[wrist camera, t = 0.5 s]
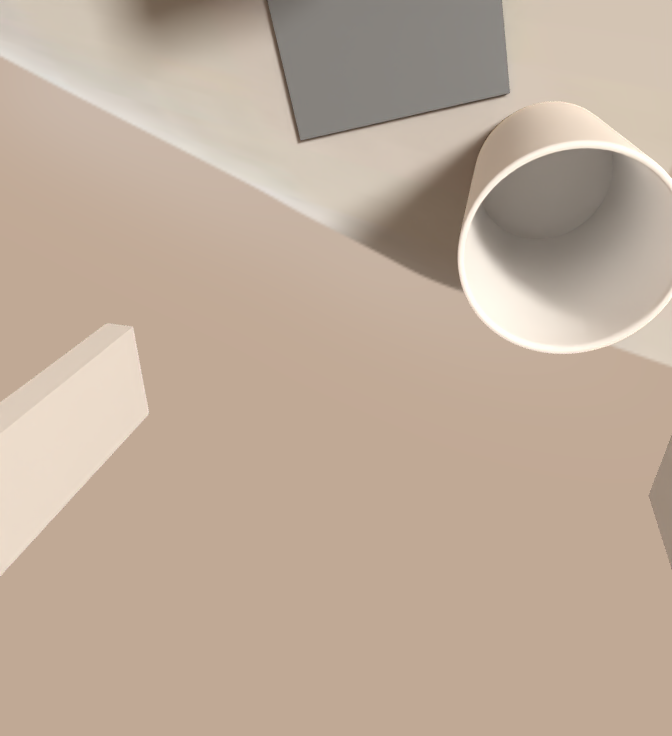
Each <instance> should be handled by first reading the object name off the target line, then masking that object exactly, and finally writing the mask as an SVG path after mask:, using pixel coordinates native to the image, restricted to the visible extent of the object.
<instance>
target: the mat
mask: <svg viewBox="0 0 672 736" xmlns="http://www.w3.org/2000/svg"><path fill="white" fill-rule="evenodd" d="M267 1H268V5H269V10H270V14H271V18H272V22H273V26H274V30H275V35H276V39H277V43H278V47H279V51H280V56H281V60H282V64H283V68H284V72H285V77H286V81H287V85H288V89H289V93H290V98H291V102H292V106H293V110H294V114H295V119H296V123H297V127H298V131H299V135H300V140H305V139H309V138H314V137H318V136H323V135H327V134H331V133H336V132H340V131H345V130H349V129H353V128H358V127H362V126H367V125H371V124H375V123H380V122H384V121H389V120H393V119H397V118H402V117H406V116H411V115H415V114H419V113H424V112H428V111H433V110H437V109H441V108H446V107H450V106H455V105H459V104H463V103H468V102H472V101H477V100H481V99H485V98H490V97H494V96H499V95H503V94H508V93H510V89H509V77H508V66H507V54H506V43H505V31H504V20H503V8H502V0H267Z"/></svg>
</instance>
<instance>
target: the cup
mask: <svg viewBox="0 0 672 736" xmlns="http://www.w3.org/2000/svg"><path fill="white" fill-rule="evenodd" d="M457 260H458V271H459V276H460V281H461V285H462V288H463V291H464V293H465V296H466V298H467V300H468V302H469V303H470V305H471V307H472V309H473V310H474V312H475V313H476V315H477V316H478V317H479V318H480V319H481V320H482V322H483V323H485V324H486V325H487V326H488V327H489V328H490V329H491V330H493V331H494V332H495V333H496V334H498V335H499V336H501V337H502V338H504V339H506V340H508V341H509V342H511V343H513V344H516V345H518V346H521V347H524V348H527V349H530V350H534V351H539V352H545V353H555V354H570V353H580V352H586V351H591V350H595V349H599V348H602V347H605V346H608V345H611V344H613V343H616V342H618V341H620V340H622V339H624V338H626V337H628V336H630V335H631V334H633V333H635V332H636V331H638V330H639V329H641V328H642V327H643V326H645V325H646V324H647V323H648V322H650V321H651V320H652V319H653V318H654V317H655V316H656V315H657V314H658V313H659V312H660V311H661V310H662V309H663V308H664V307H665V306H666V304H667V303H668V302H669V300H670V299H671V298H672V178H671V177H670V176H669V175H668V174H667V173H666V171H665V170H664V169H663V168H662V167H661V166H659V165H658V164H657V163H656V162H655V161H654V160H652V159H651V158H650V157H648V156H647V155H646V154H645V153H643V152H642V151H641V150H640V149H638V148H637V147H636V146H634V145H633V144H632V143H631V142H629V141H628V140H627V139H625V138H624V137H623V136H621V135H620V134H619V133H618V132H616V131H615V130H614V129H612V128H611V127H610V126H608V125H607V124H606V123H605V122H603V121H602V120H601V119H599V118H598V117H597V116H596V115H594V114H593V113H591V112H590V111H588V110H586V109H585V108H583V107H580V106H578V105H575V104H571V103H567V102H557V101H551V102H542V103H537V104H533V105H530V106H527V107H524V108H522V109H520V110H518V111H516V112H515V113H513V114H511V115H510V116H508V117H507V118H506V119H504V120H503V121H502V122H501V123H500V124H499V125H498V126H497V127H496V128H495V129H494V130H493V131H492V132H491V133H490V135H489V136H488V138H487V139H486V141H485V142H484V144H483V146H482V148H481V150H480V152H479V155H478V158H477V161H476V165H475V169H474V174H473V178H472V183H471V187H470V192H469V196H468V200H467V205H466V209H465V214H464V218H463V223H462V227H461V232H460V237H459V243H458V256H457Z"/></svg>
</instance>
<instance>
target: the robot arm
mask: <svg viewBox="0 0 672 736" xmlns="http://www.w3.org/2000/svg"><path fill="white" fill-rule="evenodd" d="M148 415H149V410H148V405H147V399H146V395H145V388H144V383H143V378H142V372H141V367H140V362H139V357H138V351H137V346H136V340H135V335H134V330H133V327H132V326H124V325H115V324H109V323H106V324H105V325H104V326H102V327H101V328H100V329H98V330H97V331H95V332H94V333H93V334H92V335H90V336H89V337H87V338H86V339H85V340H83V341H82V342H81V343H79V344H78V345H77V346H75V347H74V348H73V349H71V350H70V351H69V352H67V353H66V354H65V355H63V356H62V357H61V358H59V359H58V360H57V361H55V362H54V363H52V364H51V365H50V366H49V367H47V368H46V369H44V370H43V371H42V372H40V373H39V374H38V375H37V376H35V377H34V378H32V379H31V380H30V381H28V382H27V383H26V384H24V385H23V386H22V387H20V388H19V389H18V390H16V391H15V392H14V393H12V394H11V395H9V396H8V397H7V398H5V399H4V400H3V401H1V402H0V576H1V575H2V574H3V573H4V572H5V571H6V569H7V568H8V567H9V566H10V565H11V564H12V563H13V562H14V561H15V560H16V558H18V556H19V555H20V554H21V553H22V552H23V551H24V550H25V549H26V548H27V547H28V546H29V544H30V543H31V542H32V541H33V540H34V539H35V538H36V537H37V536H38V535H39V533H40V532H41V531H42V530H43V529H44V528H45V527H46V526H47V525H48V524H49V523H50V522H51V520H52V519H53V518H54V517H55V516H56V515H57V514H58V513H59V512H60V511H61V509H62V508H63V507H64V506H65V505H66V504H67V503H68V502H69V501H70V500H71V499H72V498H73V496H74V495H75V494H76V493H77V492H78V491H79V490H80V489H81V488H82V486H84V484H85V483H86V482H87V481H88V480H89V479H90V478H91V477H92V476H93V475H94V474H95V472H96V471H97V470H98V469H99V468H100V467H101V466H102V465H103V464H104V463H105V462H106V460H107V459H108V458H109V457H110V456H111V455H112V454H113V453H114V452H115V451H116V450H117V448H118V447H119V446H120V445H121V444H122V443H123V442H124V441H125V440H126V439H127V438H128V436H129V435H130V434H131V433H132V432H133V431H134V430H135V429H136V428H137V427H138V426H139V424H140V423H141V422H142V421H143V420H144V419H145V418H146V417H147V416H148ZM649 498H650V501H651V504H652V508H653V511H654V514H655V517H656V520H657V524H658V527H659V530H660V533H661V536H662V539H663V543H664V546H665V549H666V552H667V555H668V559H669V562H670V565H671V568H672V436H671V439H670V441H669V444H668V446H667V449H666V452H665V454H664V457H663V460H662V462H661V465H660V467H659V470H658V472H657V475H656V478H655V480H654V483H653V485H652V488H651V491H650V493H649Z"/></svg>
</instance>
